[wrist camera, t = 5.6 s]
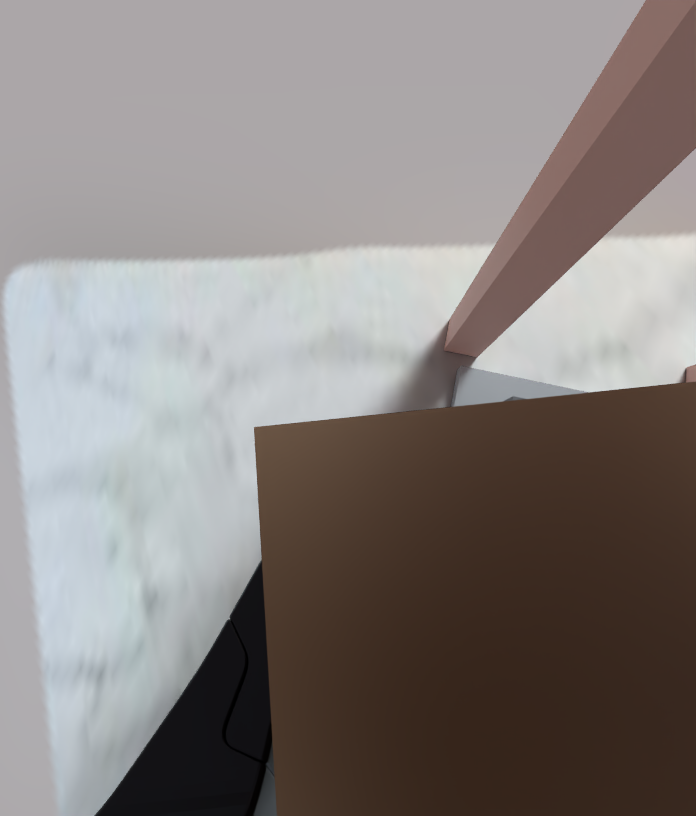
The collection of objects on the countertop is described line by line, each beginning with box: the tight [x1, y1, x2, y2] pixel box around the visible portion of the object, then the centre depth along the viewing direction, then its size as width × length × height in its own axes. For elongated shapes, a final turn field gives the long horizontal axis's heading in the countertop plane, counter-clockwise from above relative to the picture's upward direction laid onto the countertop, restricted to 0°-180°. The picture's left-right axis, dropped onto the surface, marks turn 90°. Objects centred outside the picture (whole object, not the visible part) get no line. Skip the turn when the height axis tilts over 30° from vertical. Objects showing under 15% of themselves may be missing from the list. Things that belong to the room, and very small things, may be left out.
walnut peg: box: [254, 382, 696, 816], centre depth 9 cm, size 4×4×13 cm
